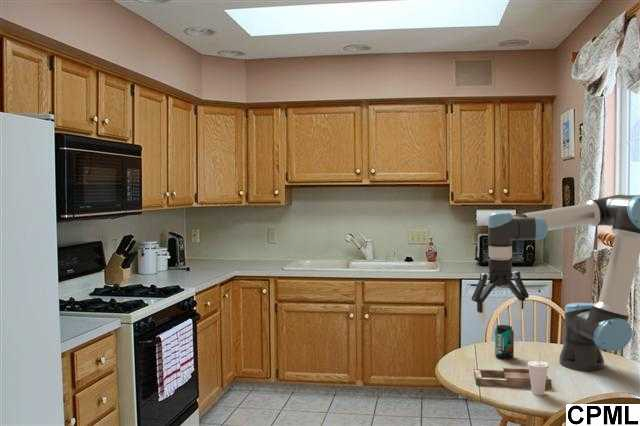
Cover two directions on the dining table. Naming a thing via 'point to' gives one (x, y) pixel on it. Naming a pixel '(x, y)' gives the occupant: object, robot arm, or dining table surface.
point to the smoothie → (538, 375)
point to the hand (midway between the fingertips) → (500, 320)
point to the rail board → (506, 377)
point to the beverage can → (504, 342)
